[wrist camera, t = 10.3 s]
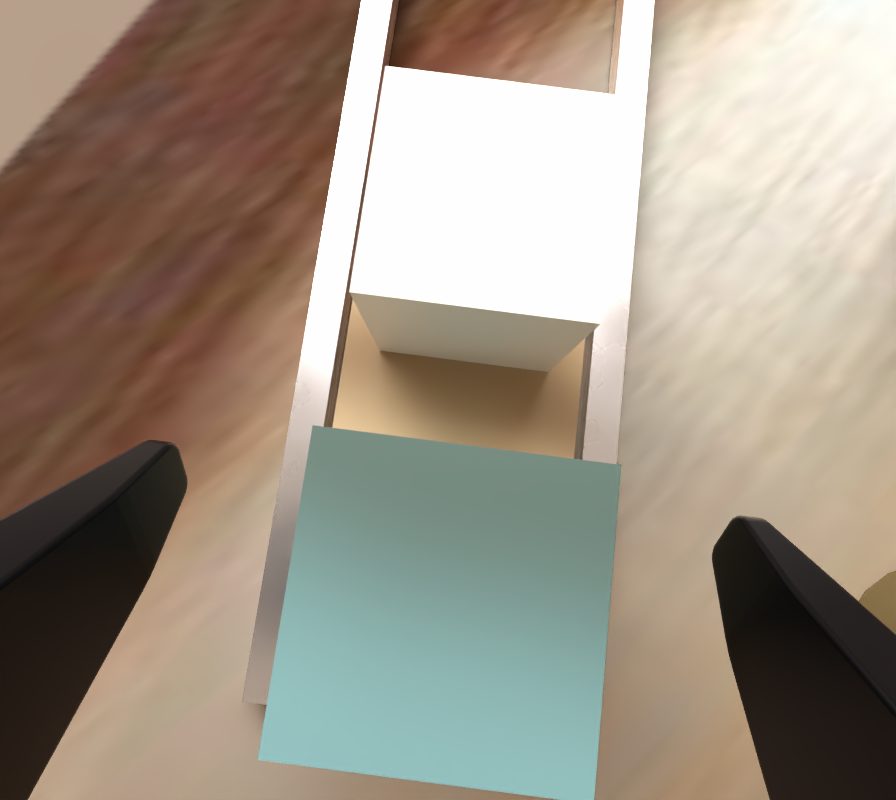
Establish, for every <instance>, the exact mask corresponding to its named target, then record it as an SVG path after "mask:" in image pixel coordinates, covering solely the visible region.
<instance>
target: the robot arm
mask: <svg viewBox="0 0 896 800" xmlns="http://www.w3.org/2000/svg"><path fill="white" fill-rule="evenodd" d="M186 489H187V475H186V472H185V469H184V465H183V462H182V458H181V455H180V452H179V449H178V447H177V446H176V445H175V444H174V443H172V442H165V441H157V440H148V441H145V442H143V443H141V444H139V445H137V446H135V447H133V448H132V449H130V450H128V451H126V452H124V453H122V454H121V455H119V456H117V457H115V458H113V459H111V460H110V461H108V462H106V463H104V464H102V465H100V466H99V467H97V468H95V469H93V470H91V471H89V472H87V473H86V474H84V475H82V476H80V477H78V478H76V479H75V480H73V481H71V482H69V483H67V484H65V485H64V486H62V487H60V488H58V489H56V490H54V491H52V492H51V493H49V494H47V495H45V496H43V497H41V498H40V499H38V500H36V501H34V502H32V503H30V504H29V505H27V506H25V507H23V508H21V509H19V510H18V511H16V512H14V513H12V514H10V515H8V516H6V517H5V518H3V519H1V520H0V800H28V798H29V797H30V795H31V793H32V791H33V789H34V787H35V786H36V784H37V782H38V780H39V778H40V777H41V775H42V773H43V771H44V769H45V767H46V766H47V764H48V762H49V760H50V758H51V757H52V755H53V753H54V751H55V749H56V748H57V746H58V744H59V742H60V740H61V738H62V737H63V735H64V733H65V731H66V729H67V728H68V726H69V724H70V722H71V720H72V718H73V717H74V715H75V713H76V711H77V709H78V708H79V706H80V704H81V702H82V700H83V699H84V697H85V695H86V693H87V691H88V689H89V688H90V686H91V684H92V682H93V680H94V679H95V677H96V675H97V673H98V671H99V669H100V668H101V666H102V664H103V662H104V660H105V659H106V657H107V655H108V653H109V651H110V650H111V648H112V646H113V644H114V642H115V640H116V639H117V637H118V635H119V633H120V631H121V630H122V628H123V626H124V624H125V622H126V620H127V619H128V617H129V615H130V613H131V611H132V610H133V608H134V606H135V604H136V602H137V601H138V599H139V597H140V595H141V593H142V591H143V589H144V588H145V586H146V584H147V582H148V580H149V578H150V576H151V574H152V571H153V569H154V567H155V565H156V563H157V560H158V558H159V555H160V553H161V551H162V548H163V546H164V543H165V541H166V539H167V536H168V534H169V531H170V529H171V527H172V524H173V522H174V519H175V517H176V515H177V512H178V510H179V507H180V505H181V503H182V500H183V498H184V495H185V493H186ZM712 562H713V568H714V574H715V580H716V586H717V592H718V597H719V603H720V609H721V615H722V621H723V627H724V632H725V638H726V643H727V648H728V653H729V657H730V660H731V664H732V668H733V672H734V675H735V679H736V682H737V686H738V689H739V693H740V696H741V700H742V703H743V707H744V711H745V714H746V718H747V721H748V725H749V728H750V732H751V735H752V739H753V742H754V746H755V749H756V753H757V756H758V760H759V763H760V767H761V770H762V774H763V778H764V781H765V785H766V788H767V792H768V795H769V799H770V800H896V634H895V633H894V632H893V631H892V630H890V629H889V628H888V627H887V626H886V625H885V624H884V623H882V622H881V621H880V620H879V619H878V618H877V617H876V616H875V615H873V614H872V613H871V612H870V611H869V610H868V609H867V608H865V607H864V606H863V605H862V604H861V603H860V602H859V601H857V600H856V599H855V598H854V597H853V596H852V595H851V594H849V593H848V592H847V591H846V590H845V589H844V588H843V587H842V586H840V585H839V584H838V583H837V582H836V581H835V580H834V579H832V578H831V577H830V576H829V575H828V574H827V573H826V572H824V571H823V570H822V569H821V568H820V567H819V566H818V565H816V564H815V563H814V562H813V561H812V560H811V559H810V558H808V557H807V556H806V555H805V554H804V553H803V552H802V551H801V550H799V549H798V548H797V547H796V546H795V545H794V544H793V543H791V542H790V541H789V540H788V539H787V538H786V537H785V536H783V535H782V534H781V533H780V532H779V531H778V530H777V529H775V528H774V527H773V526H772V525H771V524H770V523H769V522H767V521H766V520H764V519H761V518H755V517H748V516H736V517H735V518H733V519H732V520H731V521H730V523H729V524H728V526H727V527H726V529H725V530H724V532H723V533H722V535H721V536H720V538H719V540H718V541H717V543H716V544H715V546H714V549H713V553H712Z"/></svg>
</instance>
